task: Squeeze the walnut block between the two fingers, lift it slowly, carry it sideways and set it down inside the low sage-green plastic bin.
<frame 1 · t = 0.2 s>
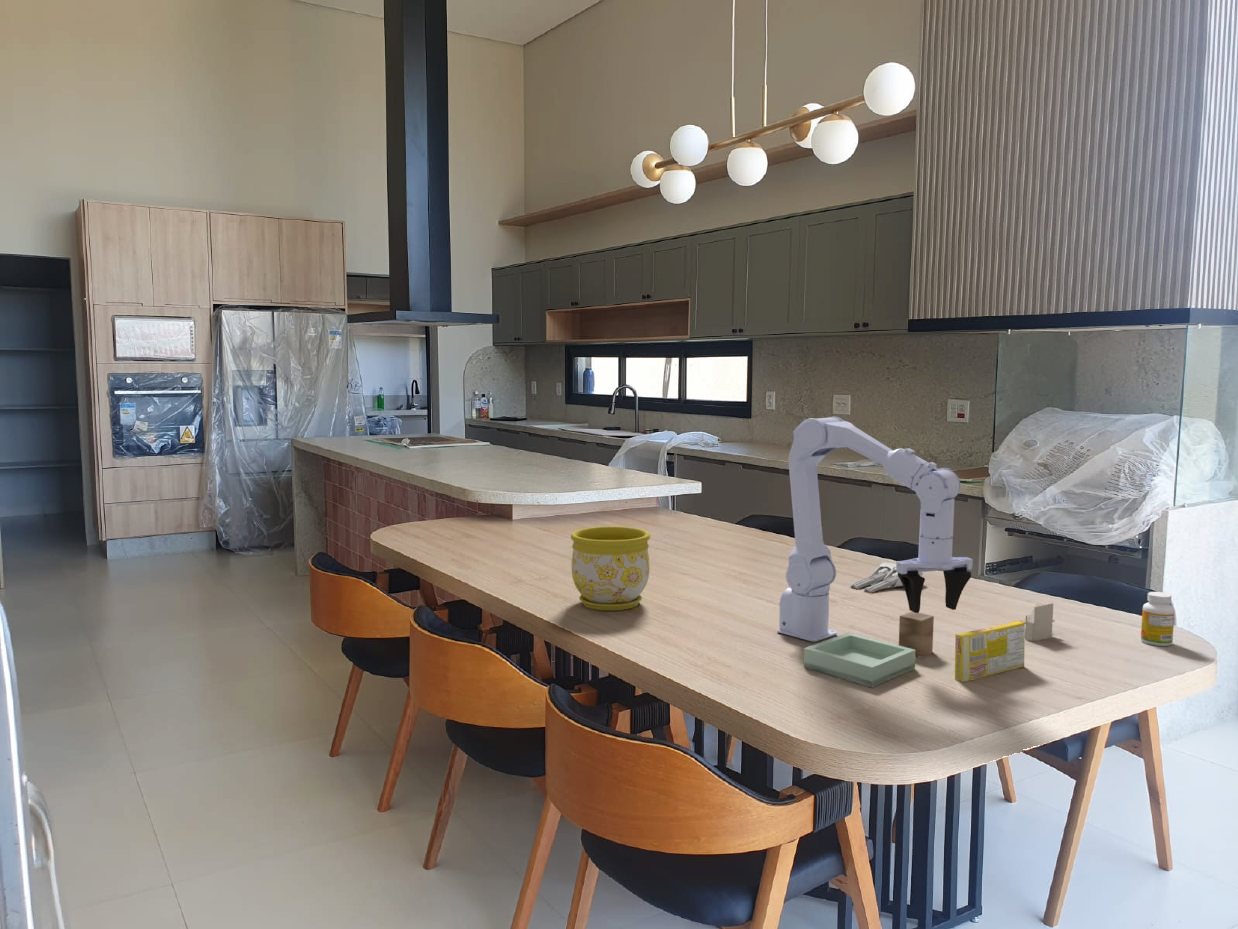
hand: (932, 609, 163), 10 cm above the table, fingers open, 7 cm apart
flowerpot: (610, 604, 206), on the table
bin: (859, 667, 162), on the table
candy box: (989, 674, 160), on the table
supplement bottle: (1156, 643, 177), on the table
walnut block: (915, 651, 171), on the table
architectural model: (1037, 641, 180), on the table
turret: (887, 587, 223), on the table
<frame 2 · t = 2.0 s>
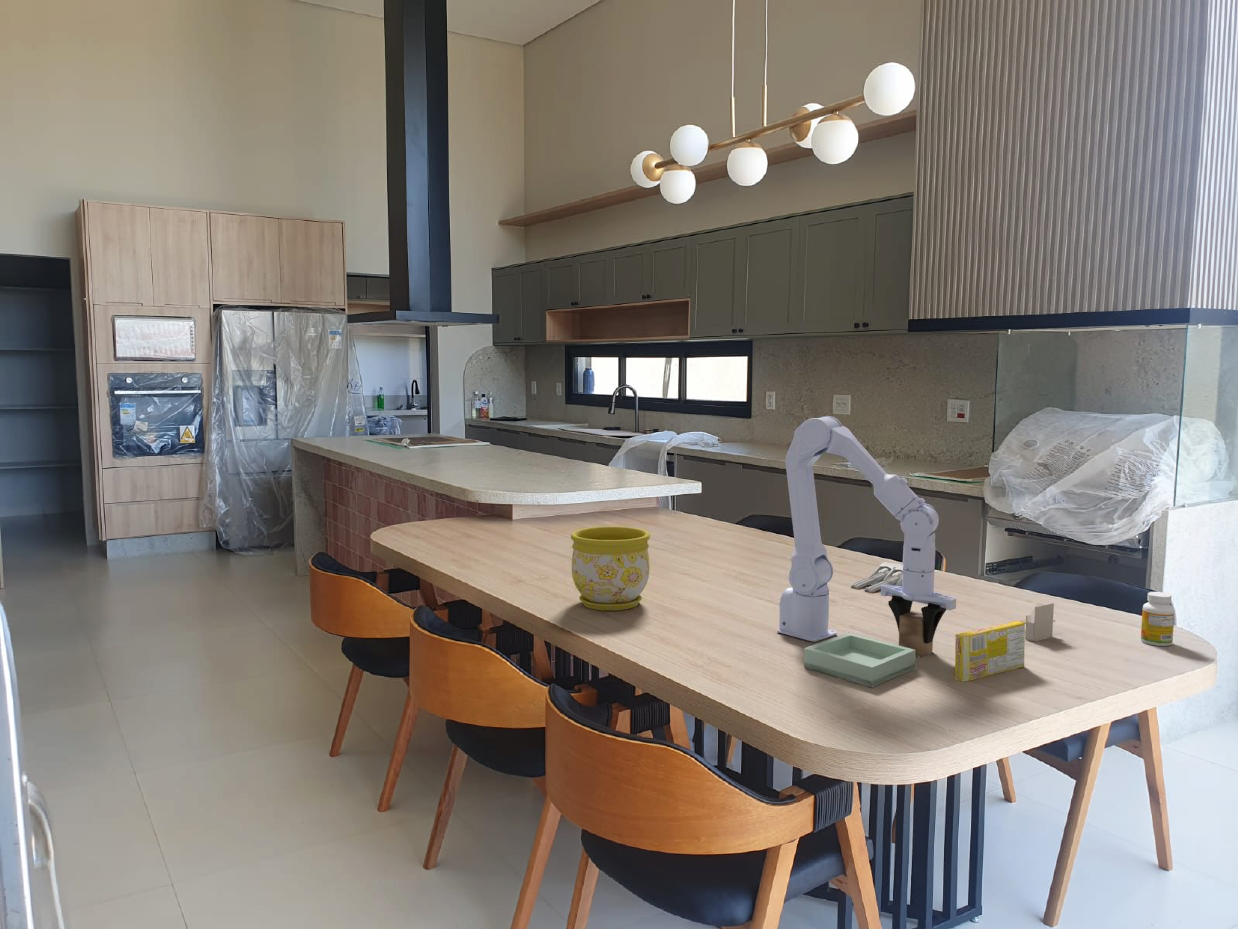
hand: (915, 639, 171), 2 cm above the table, fingers closed on walnut block, 4 cm apart
walnut block: (915, 651, 171), on the table, touching gripper
everything else where it was.
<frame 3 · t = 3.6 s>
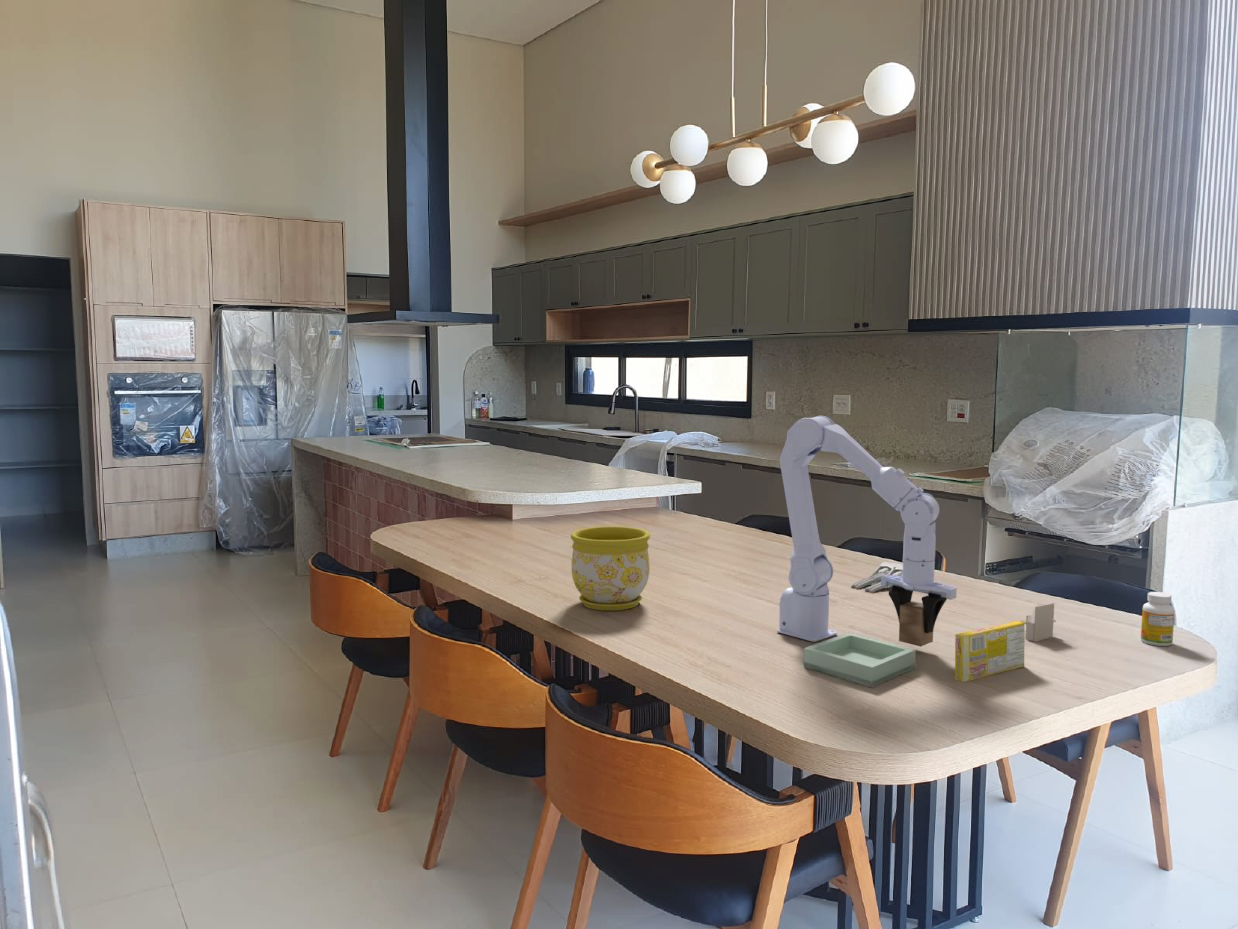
hand: (916, 629, 171), 4 cm above the table, fingers closed on walnut block, 4 cm apart
walnut block: (915, 641, 171), point 2 cm above the table, touching gripper
everything else where it was.
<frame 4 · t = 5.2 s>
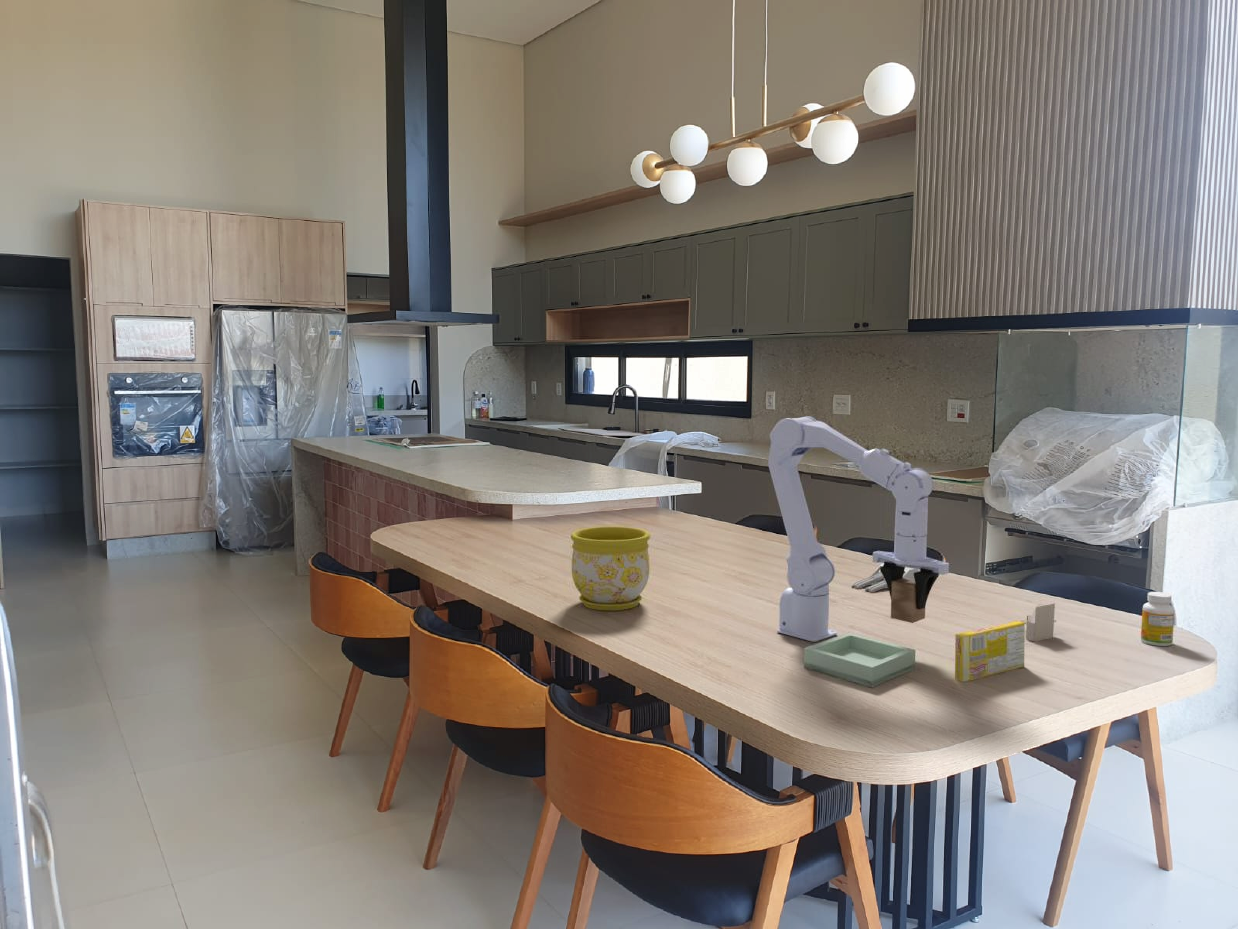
hand: (908, 605, 169), 9 cm above the table, fingers closed on walnut block, 4 cm apart
walnut block: (907, 618, 169), point 7 cm above the table, touching gripper
everything else where it was.
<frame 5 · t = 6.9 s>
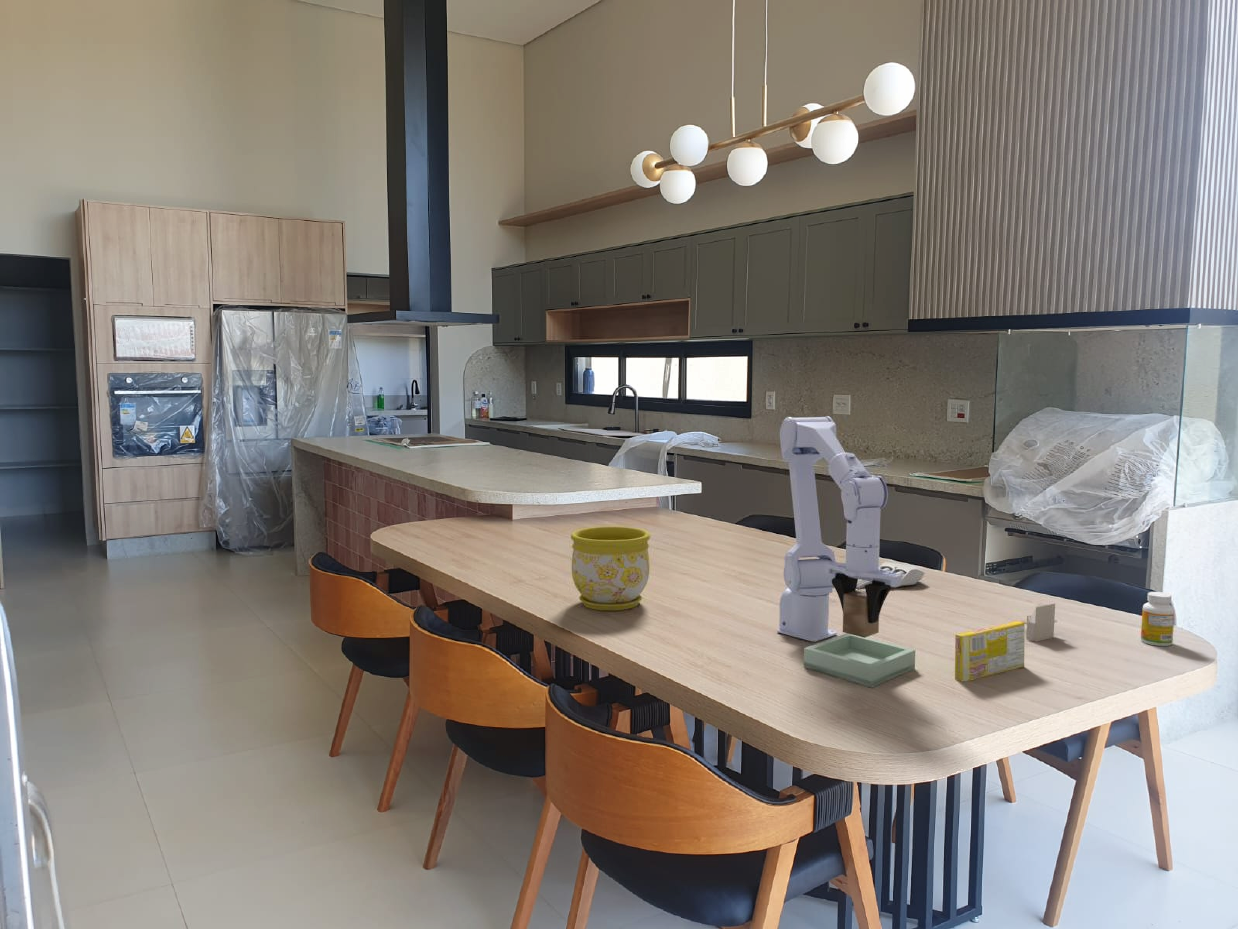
hand: (860, 619, 161), 9 cm above the table, fingers closed on walnut block, 4 cm apart
walnut block: (860, 632, 161), point 7 cm above the table, touching gripper
everything else where it was.
when the fingers open (4 cm above the table, at t = 8.3 s): walnut block stays where it is, resting on bin.
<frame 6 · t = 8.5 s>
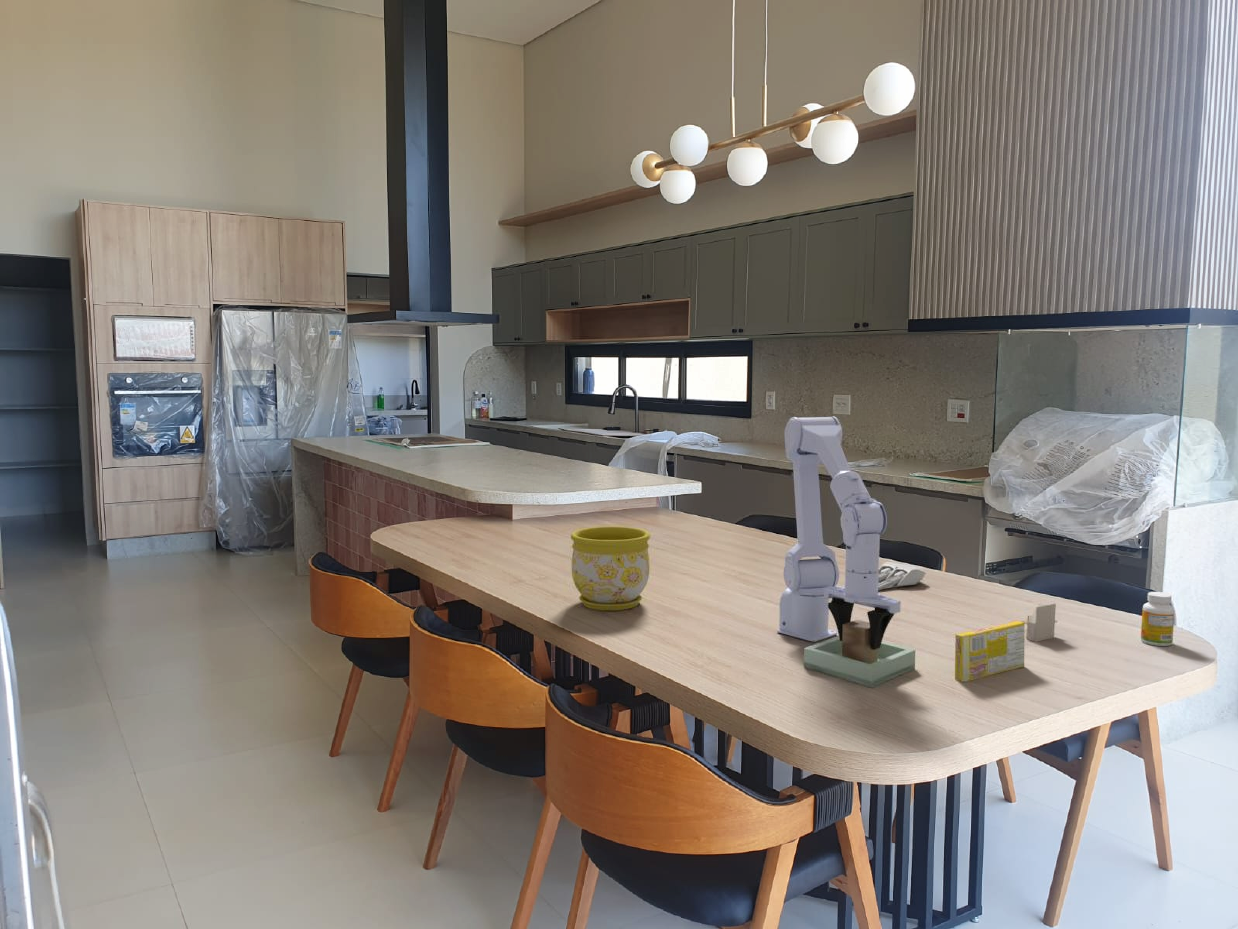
hand: (859, 644, 162), 4 cm above the table, fingers open, 6 cm apart
walnut block: (859, 662, 162), point 1 cm above the table, touching bin
everything else where it was.
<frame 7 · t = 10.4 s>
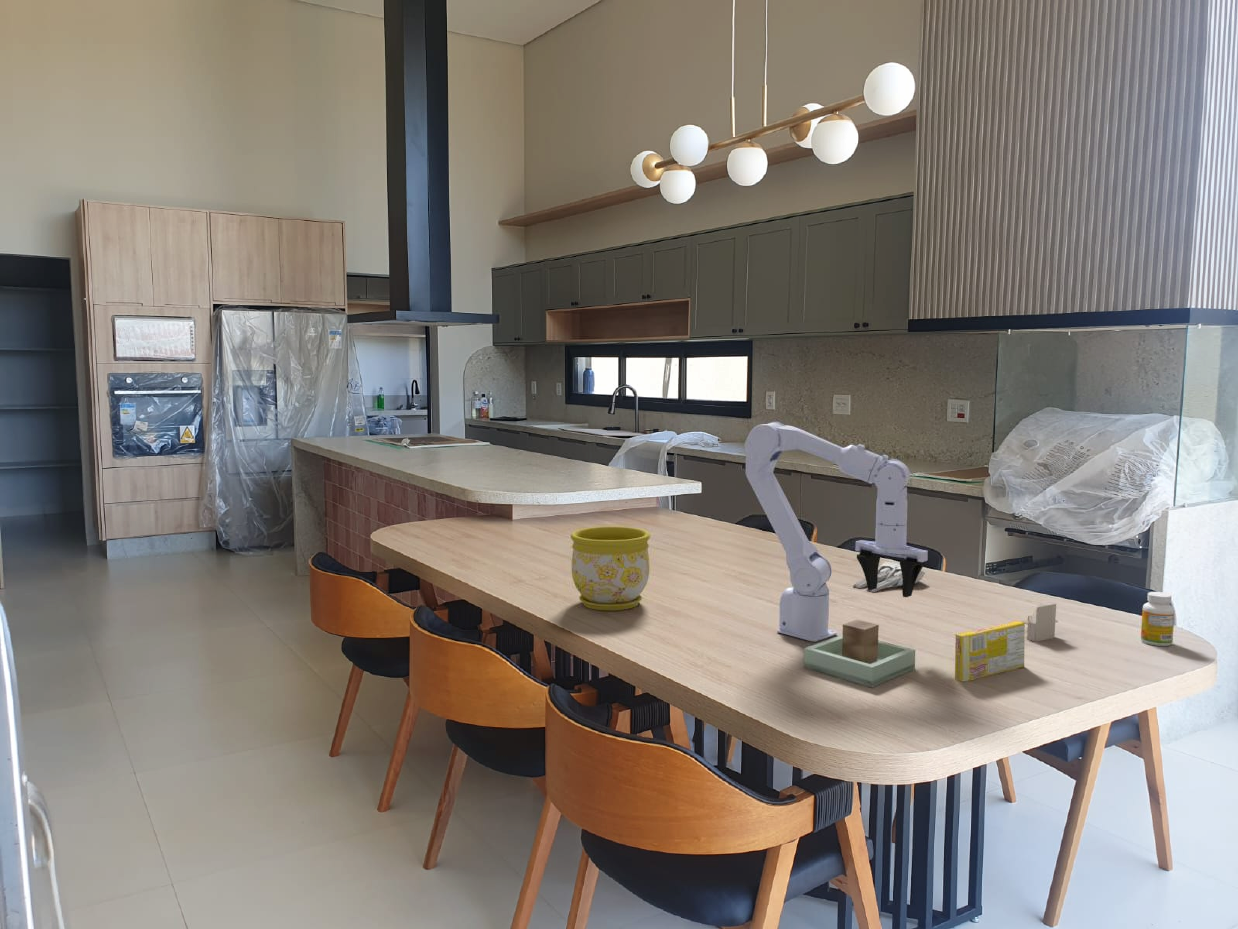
hand: (889, 592, 174), 10 cm above the table, fingers open, 7 cm apart
nothing on the table moved.
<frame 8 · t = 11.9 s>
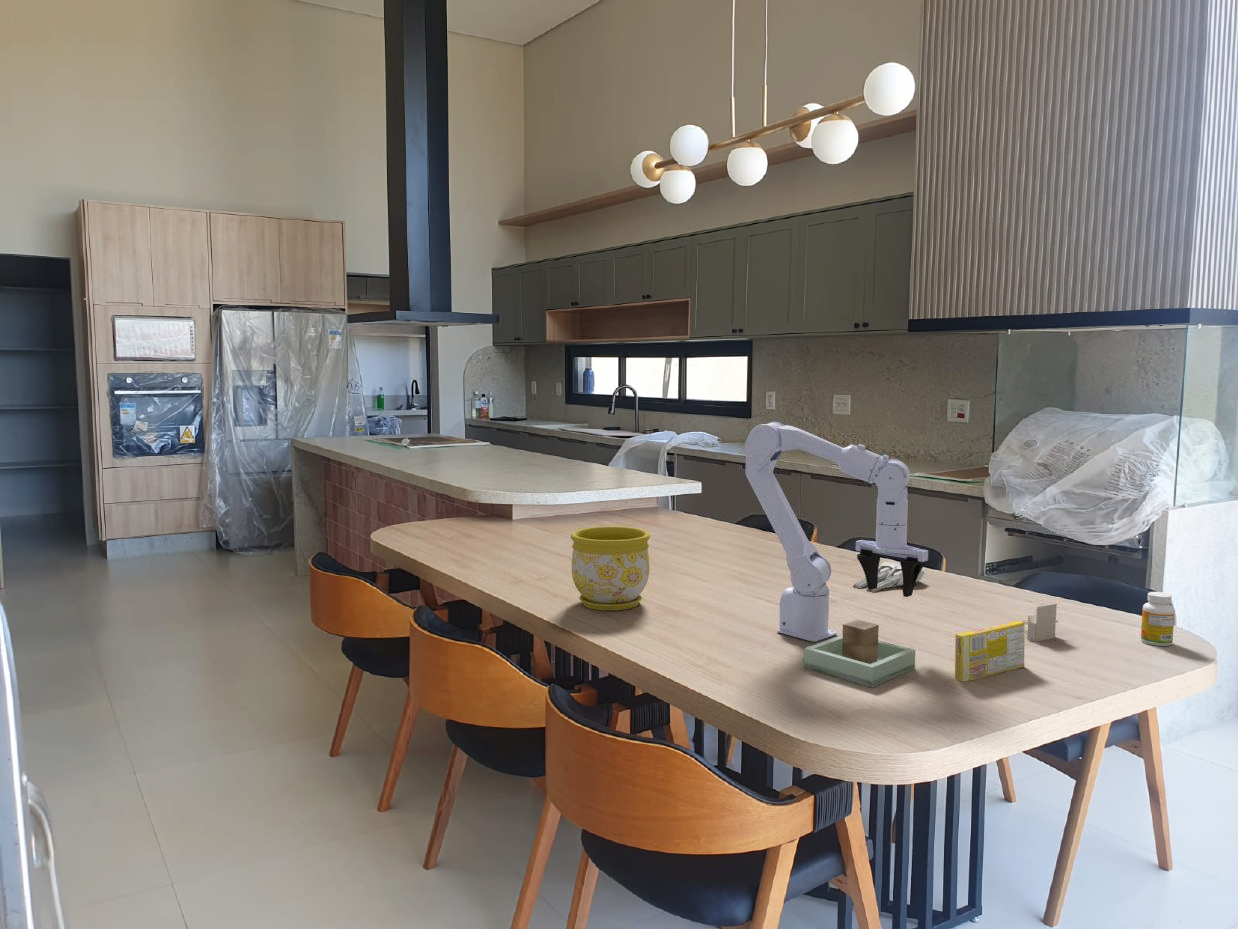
hand: (889, 592, 175), 10 cm above the table, fingers open, 7 cm apart
at the end: walnut block inside the target area on the bin (0.1 cm from its centre), point 1.0 cm above the bin's base; walnut block tilted 0°; the gripper is holding nothing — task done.
